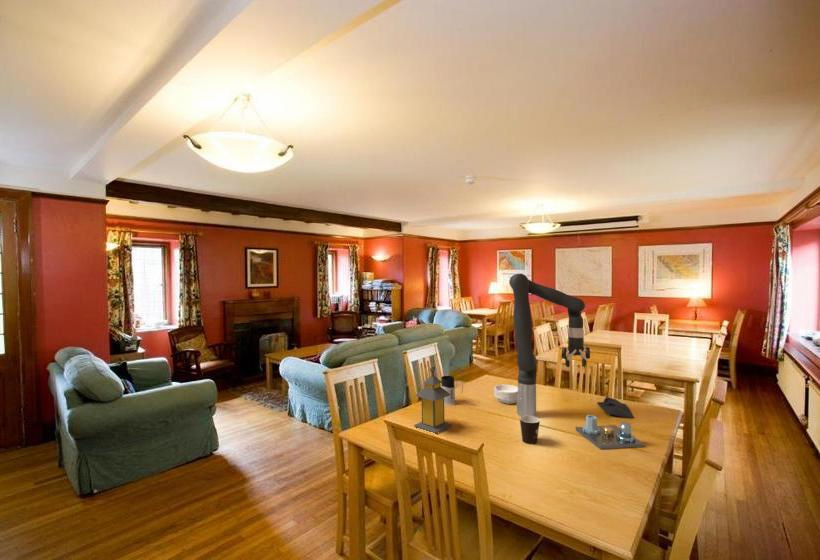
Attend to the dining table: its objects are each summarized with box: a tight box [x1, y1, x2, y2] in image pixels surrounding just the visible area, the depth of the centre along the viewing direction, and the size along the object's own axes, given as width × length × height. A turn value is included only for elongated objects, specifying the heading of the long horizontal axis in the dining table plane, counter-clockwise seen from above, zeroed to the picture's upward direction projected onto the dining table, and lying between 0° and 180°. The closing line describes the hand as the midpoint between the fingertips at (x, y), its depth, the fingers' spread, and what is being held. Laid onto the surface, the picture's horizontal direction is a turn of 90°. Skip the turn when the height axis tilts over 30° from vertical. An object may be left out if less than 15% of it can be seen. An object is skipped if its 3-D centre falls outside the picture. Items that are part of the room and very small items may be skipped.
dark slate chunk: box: [597, 396, 635, 419], centre depth 209 cm, size 15×22×5 cm
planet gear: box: [581, 414, 601, 434], centre depth 180 cm, size 8×8×7 cm
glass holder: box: [440, 375, 464, 406], centre depth 223 cm, size 9×14×15 cm, turn 54°
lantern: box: [414, 366, 453, 435], centre depth 191 cm, size 14×14×30 cm
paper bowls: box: [493, 384, 518, 405], centre depth 226 cm, size 15×15×8 cm
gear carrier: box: [575, 421, 645, 450], centre depth 175 cm, size 20×20×8 cm
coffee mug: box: [519, 416, 541, 445], centre depth 174 cm, size 12×9×10 cm
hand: (575, 366), depth 202 cm, fingers open, 8 cm apart
